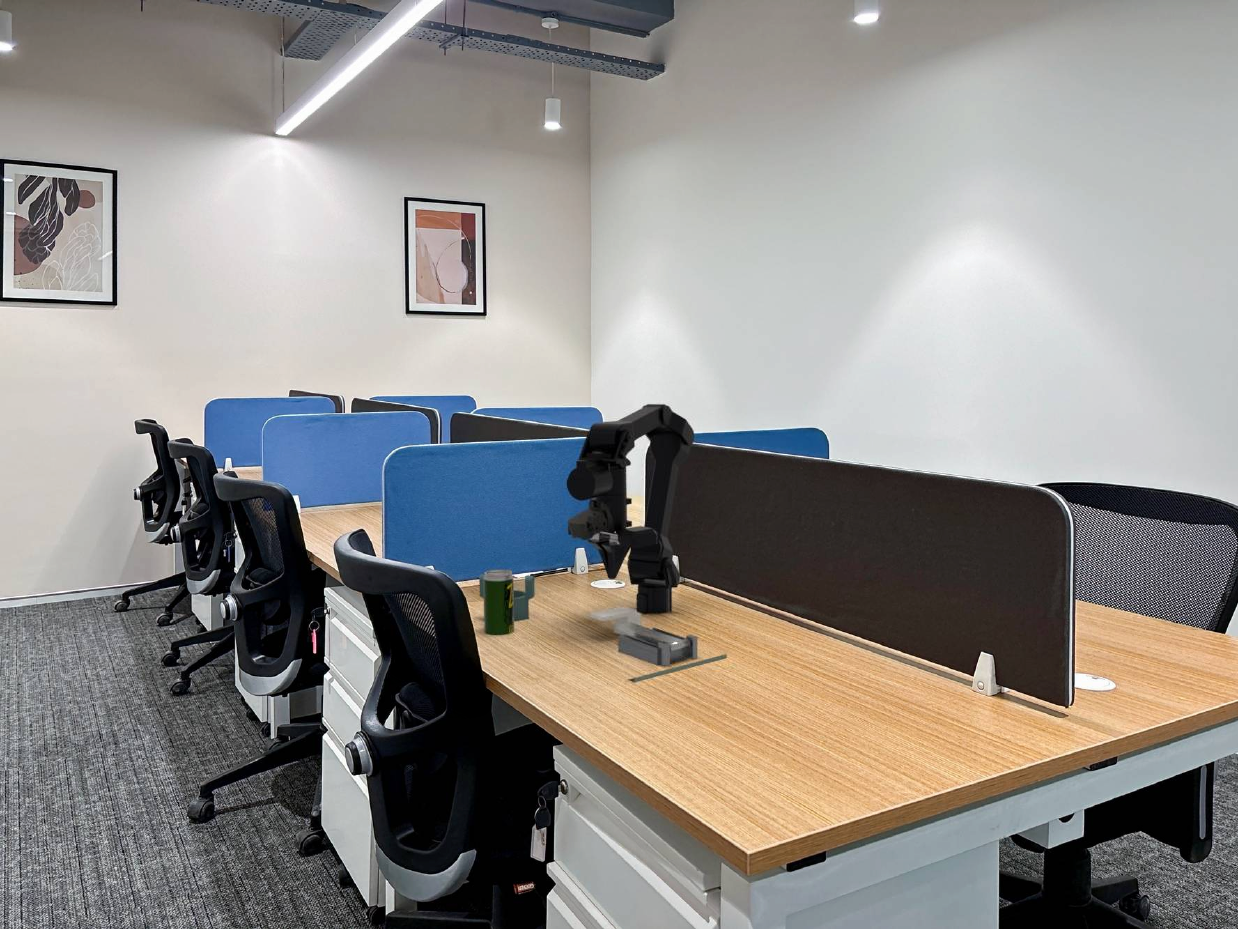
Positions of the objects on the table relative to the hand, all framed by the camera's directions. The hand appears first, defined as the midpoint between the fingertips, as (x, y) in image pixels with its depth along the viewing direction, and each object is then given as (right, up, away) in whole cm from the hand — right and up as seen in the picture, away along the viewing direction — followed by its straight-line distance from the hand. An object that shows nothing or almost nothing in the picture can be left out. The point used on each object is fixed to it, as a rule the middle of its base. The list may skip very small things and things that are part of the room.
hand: (612, 578), depth 168 cm
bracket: (-20, -10, +13) cm, 26 cm away
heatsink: (+8, -11, -14) cm, 19 cm away
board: (+4, -12, -9) cm, 15 cm away
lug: (+1, -10, -3) cm, 10 cm away
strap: (+7, -9, -13) cm, 17 cm away
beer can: (-20, -11, +1) cm, 23 cm away
